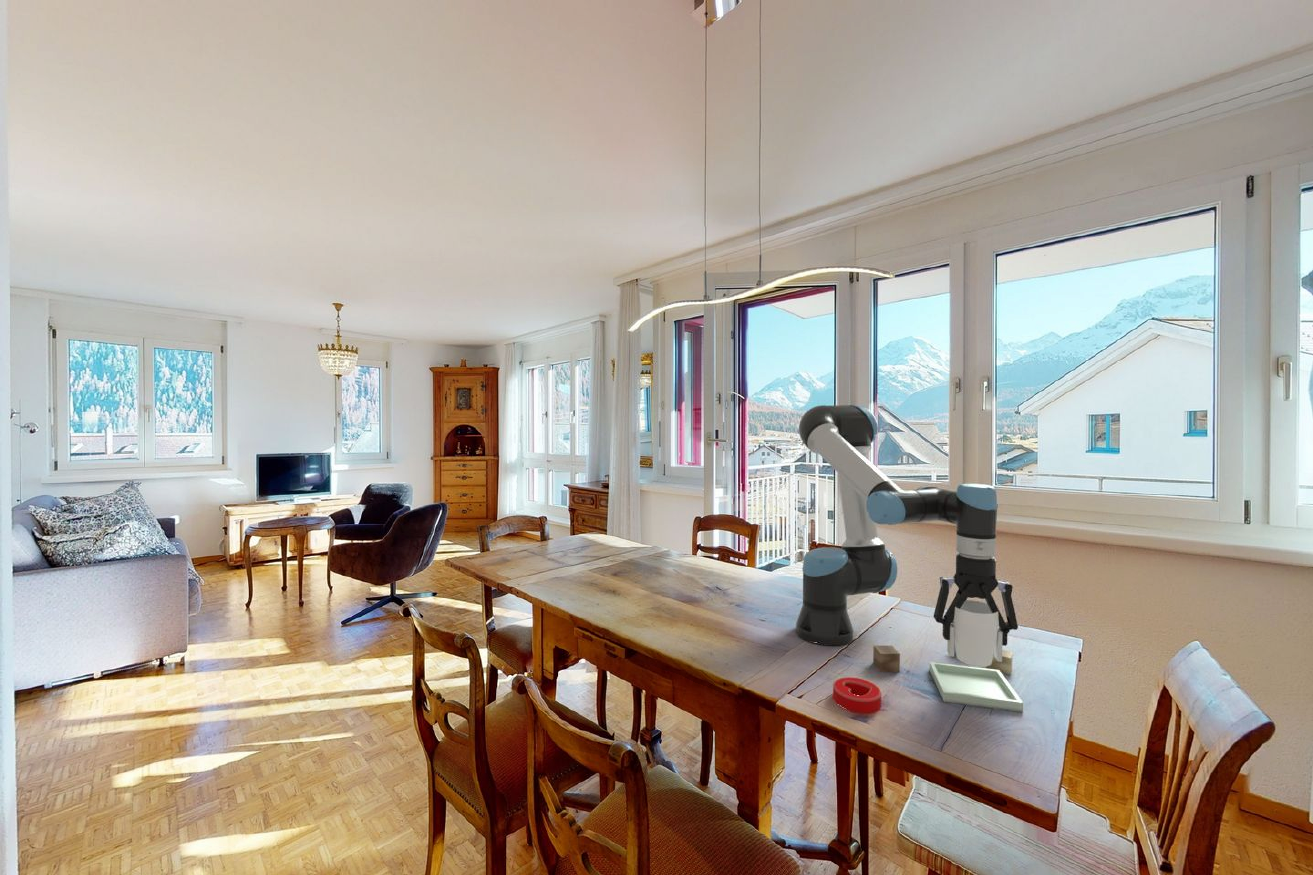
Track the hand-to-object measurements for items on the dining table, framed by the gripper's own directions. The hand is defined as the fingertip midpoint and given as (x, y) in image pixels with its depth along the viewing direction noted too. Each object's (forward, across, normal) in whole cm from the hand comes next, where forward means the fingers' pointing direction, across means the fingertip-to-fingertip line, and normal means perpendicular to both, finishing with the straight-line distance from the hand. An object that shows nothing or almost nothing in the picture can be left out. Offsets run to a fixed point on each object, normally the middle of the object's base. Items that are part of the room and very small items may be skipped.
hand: (973, 656), depth 118 cm
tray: (+8, 0, 0) cm, 8 cm away
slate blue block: (+8, +3, +19) cm, 21 cm away
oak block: (+8, +9, +13) cm, 18 cm away
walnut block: (+8, -17, +6) cm, 20 cm away
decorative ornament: (+8, -25, -12) cm, 29 cm away
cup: (+1, 0, 0) cm, 1 cm away
